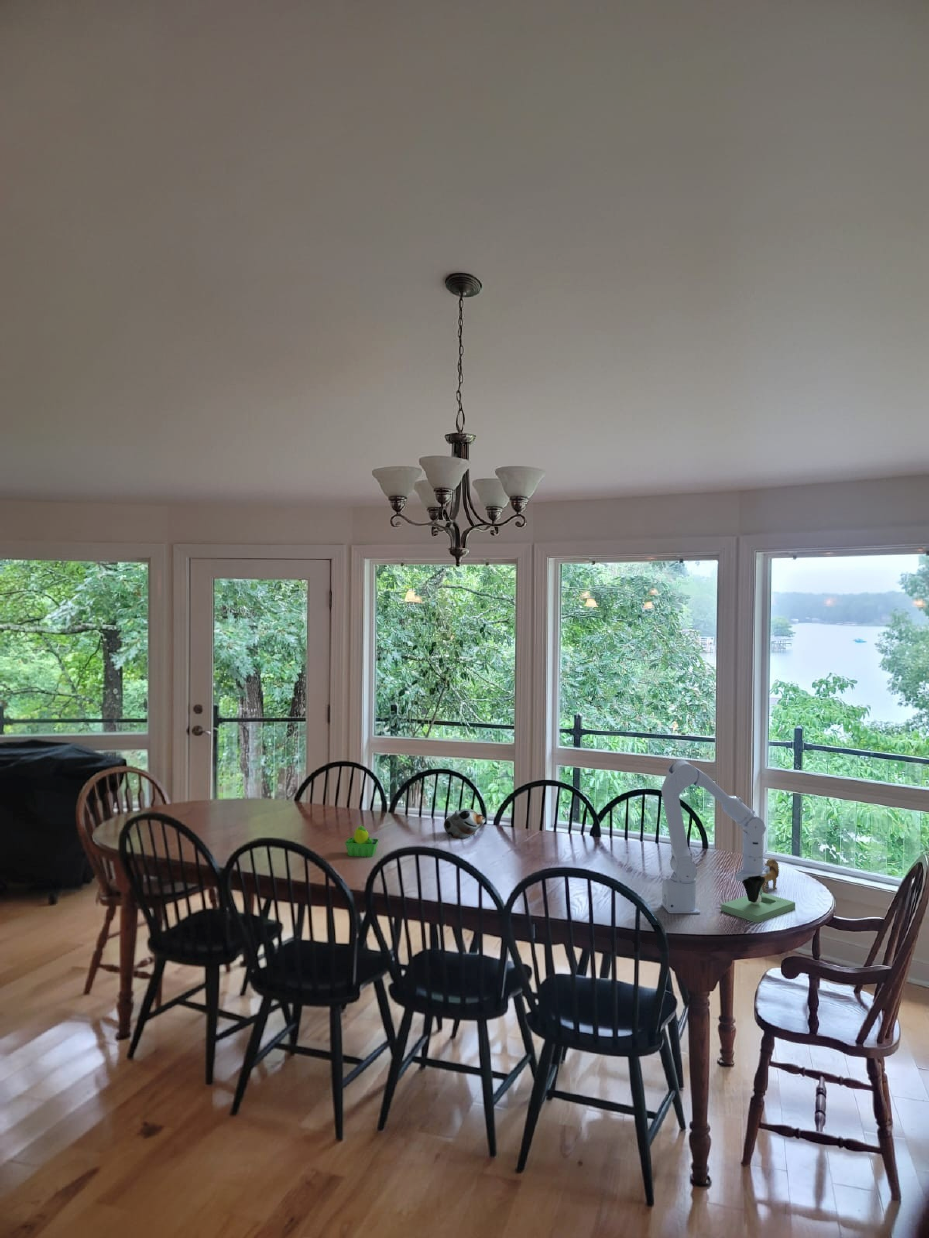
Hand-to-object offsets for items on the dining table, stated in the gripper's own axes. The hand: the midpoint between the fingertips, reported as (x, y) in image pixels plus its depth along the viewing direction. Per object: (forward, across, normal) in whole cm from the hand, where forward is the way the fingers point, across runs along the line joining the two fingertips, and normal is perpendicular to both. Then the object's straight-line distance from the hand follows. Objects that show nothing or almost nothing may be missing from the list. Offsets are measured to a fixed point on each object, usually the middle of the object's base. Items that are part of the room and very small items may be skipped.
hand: (752, 901), depth 230 cm
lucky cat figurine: (+2, -19, +119) cm, 121 cm away
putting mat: (+3, +3, 0) cm, 5 cm away
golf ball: (0, +1, 0) cm, 1 cm away
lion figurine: (+3, +22, +10) cm, 25 cm away
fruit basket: (+2, -67, +118) cm, 136 cm away
